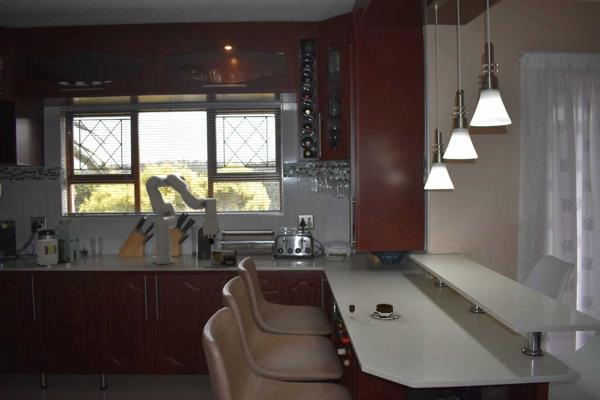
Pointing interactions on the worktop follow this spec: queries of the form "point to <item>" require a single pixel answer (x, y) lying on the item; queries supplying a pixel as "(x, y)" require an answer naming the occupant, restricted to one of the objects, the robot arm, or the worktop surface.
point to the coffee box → (223, 257)
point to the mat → (215, 266)
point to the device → (67, 239)
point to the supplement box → (47, 251)
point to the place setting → (377, 308)
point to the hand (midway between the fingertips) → (211, 244)
